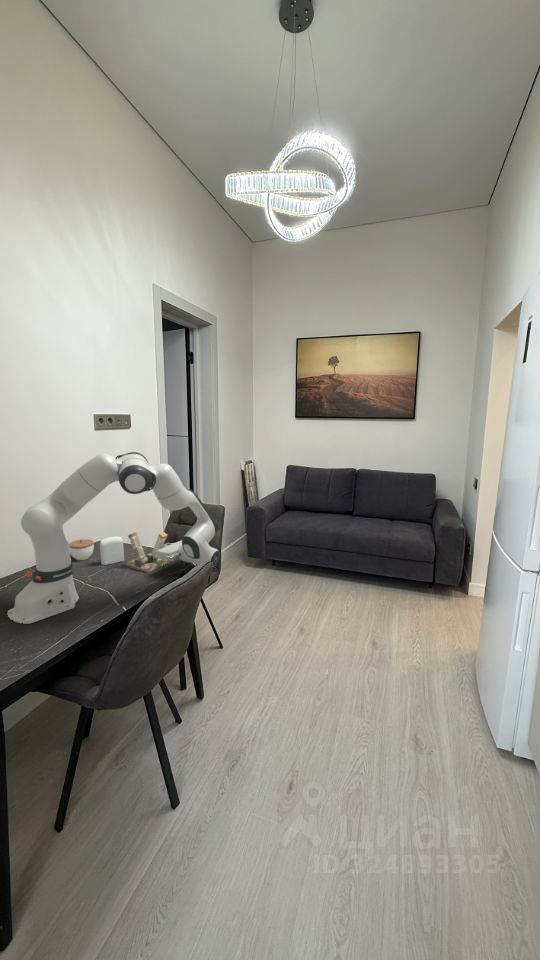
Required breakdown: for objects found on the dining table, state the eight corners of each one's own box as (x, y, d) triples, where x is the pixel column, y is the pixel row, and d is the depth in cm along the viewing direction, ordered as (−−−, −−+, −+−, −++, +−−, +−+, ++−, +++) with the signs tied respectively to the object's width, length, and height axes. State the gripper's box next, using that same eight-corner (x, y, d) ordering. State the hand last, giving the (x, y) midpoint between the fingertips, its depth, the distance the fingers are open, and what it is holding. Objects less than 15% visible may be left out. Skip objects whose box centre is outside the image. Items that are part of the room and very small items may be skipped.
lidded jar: (75, 554, 189) (73, 536, 187) (97, 553, 190) (96, 535, 188) (66, 562, 178) (64, 543, 177) (90, 562, 179) (88, 543, 178)
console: (147, 572, 168) (145, 539, 165) (125, 566, 175) (123, 533, 172) (173, 561, 182) (172, 529, 179) (152, 555, 188) (151, 525, 186)
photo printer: (102, 566, 175) (100, 540, 172) (100, 563, 178) (98, 537, 176) (125, 561, 180) (123, 536, 178) (123, 558, 184) (121, 534, 182)
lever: (152, 561, 177) (162, 537, 172) (148, 557, 178) (158, 533, 173) (158, 558, 181) (168, 534, 175) (155, 555, 181) (164, 531, 176)
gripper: (170, 565, 160) (147, 559, 167) (202, 551, 178) (180, 545, 184) (170, 551, 159) (147, 545, 166) (202, 538, 177) (179, 533, 183)
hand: (164, 545), depth 175 cm, fingers closed
